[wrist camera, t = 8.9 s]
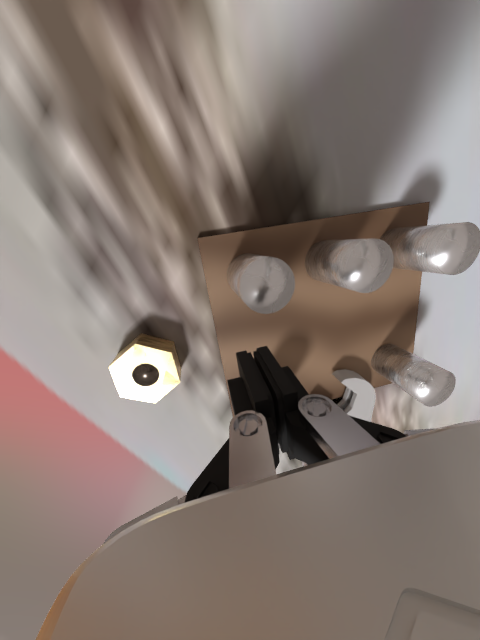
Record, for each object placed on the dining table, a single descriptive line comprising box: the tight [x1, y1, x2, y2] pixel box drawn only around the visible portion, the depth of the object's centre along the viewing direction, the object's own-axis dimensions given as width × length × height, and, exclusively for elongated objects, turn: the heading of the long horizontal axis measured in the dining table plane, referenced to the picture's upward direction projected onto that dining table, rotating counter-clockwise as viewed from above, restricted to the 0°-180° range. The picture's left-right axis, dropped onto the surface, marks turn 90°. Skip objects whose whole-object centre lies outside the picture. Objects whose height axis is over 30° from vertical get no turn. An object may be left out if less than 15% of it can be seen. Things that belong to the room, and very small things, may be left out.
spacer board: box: [197, 202, 429, 417], centre depth 20 cm, size 16×18×1 cm
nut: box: [109, 333, 181, 403], centre depth 17 cm, size 4×5×2 cm
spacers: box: [227, 222, 480, 448], centre depth 17 cm, size 13×15×5 cm
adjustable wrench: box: [332, 369, 376, 422], centre depth 25 cm, size 25×6×2 cm, turn 25°
